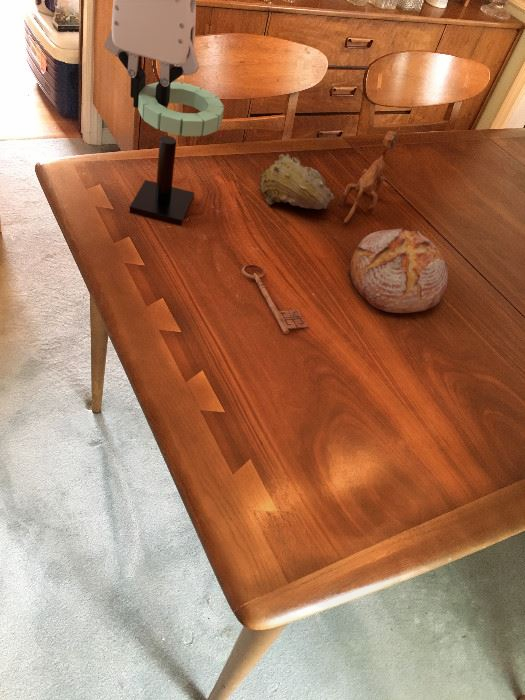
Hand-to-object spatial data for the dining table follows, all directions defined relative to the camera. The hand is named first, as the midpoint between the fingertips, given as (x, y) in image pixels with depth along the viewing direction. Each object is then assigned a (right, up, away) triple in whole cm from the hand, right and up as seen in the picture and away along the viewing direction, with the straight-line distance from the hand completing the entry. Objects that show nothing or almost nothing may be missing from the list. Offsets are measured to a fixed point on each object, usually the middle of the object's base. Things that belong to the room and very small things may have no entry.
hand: (149, 105), depth 79 cm
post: (-1, -10, +18) cm, 20 cm away
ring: (+4, -1, 0) cm, 5 cm away
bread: (+39, -23, +16) cm, 48 cm away
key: (+18, -27, +7) cm, 33 cm away
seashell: (+22, -7, +27) cm, 35 cm away
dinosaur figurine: (+35, -7, +31) cm, 47 cm away
